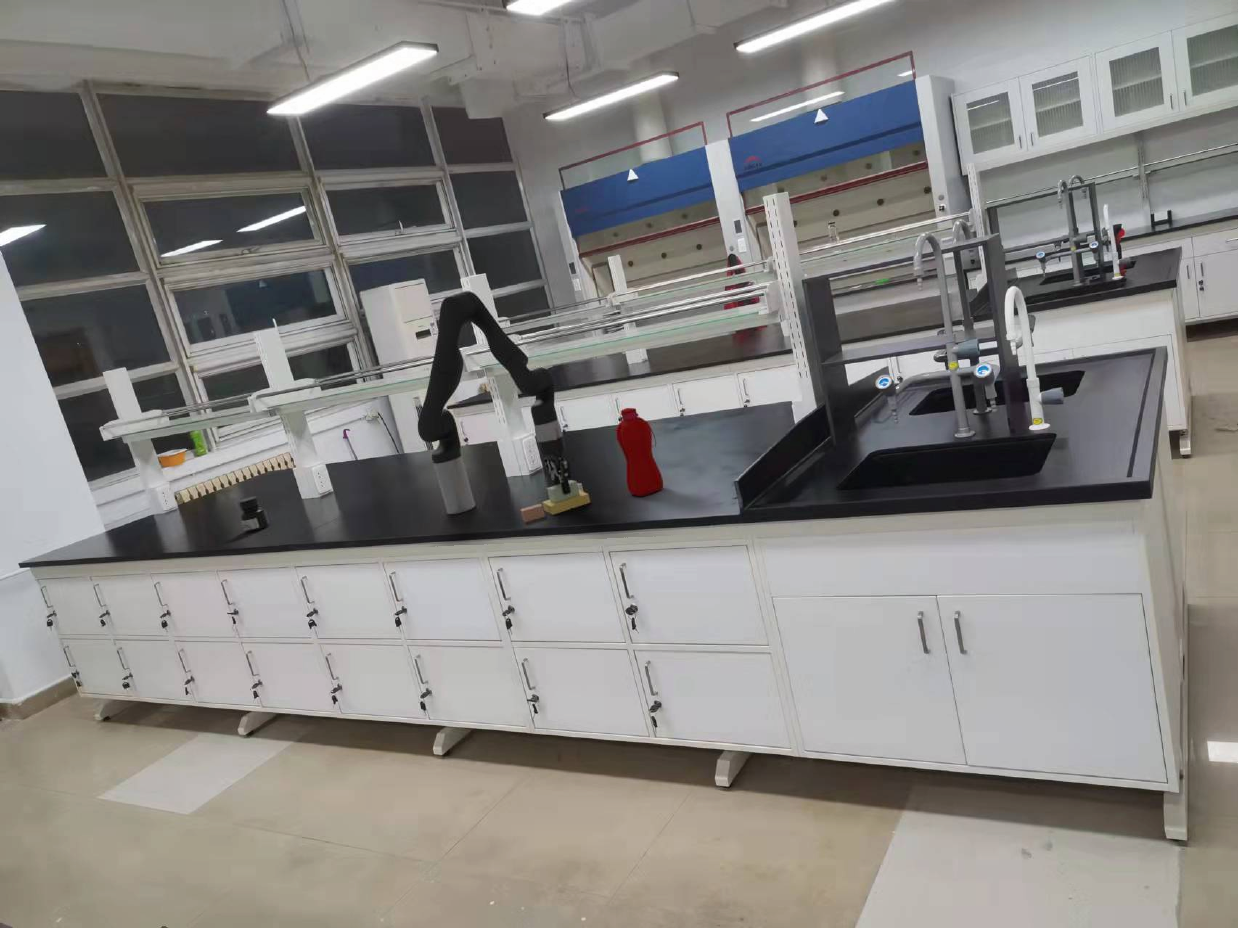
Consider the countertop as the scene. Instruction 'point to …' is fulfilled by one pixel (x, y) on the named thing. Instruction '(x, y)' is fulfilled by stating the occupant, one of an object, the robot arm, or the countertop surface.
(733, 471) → the countertop surface
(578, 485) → the cream brick
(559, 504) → the mustard base brick
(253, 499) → the ink bottle
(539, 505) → the rust brick
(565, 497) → the sage brick
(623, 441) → the water bottle
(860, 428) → the countertop surface
